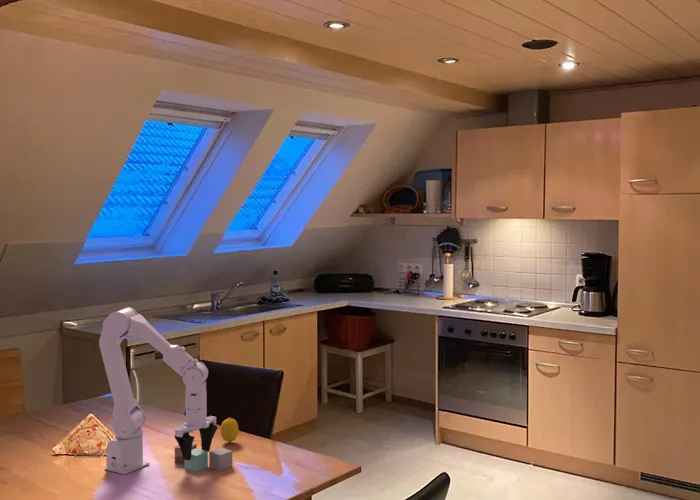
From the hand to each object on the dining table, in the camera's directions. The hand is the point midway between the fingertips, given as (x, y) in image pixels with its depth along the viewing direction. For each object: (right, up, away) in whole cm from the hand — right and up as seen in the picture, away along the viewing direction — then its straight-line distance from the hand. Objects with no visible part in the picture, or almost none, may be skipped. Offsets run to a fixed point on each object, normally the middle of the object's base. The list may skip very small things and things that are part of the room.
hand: (196, 455), depth 194 cm
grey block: (+7, -4, +1) cm, 8 cm away
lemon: (+6, -3, +21) cm, 22 cm away
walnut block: (-4, -3, +5) cm, 8 cm away
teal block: (0, -4, 0) cm, 4 cm away
